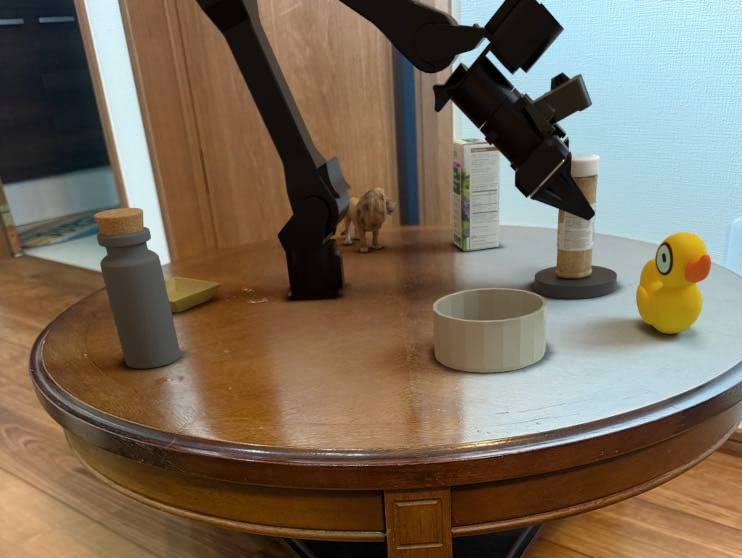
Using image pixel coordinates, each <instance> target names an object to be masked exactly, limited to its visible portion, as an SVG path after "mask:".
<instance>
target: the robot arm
mask: <svg viewBox="0 0 742 558" xmlns="http://www.w3.org/2000/svg"><path fill="white" fill-rule="evenodd" d="M338 1H339V2H340V3H341V4H343V5H345V6H346V7H348V8H349V9H351V10H352V11H354V12H355V13H356V14H357V15H359V16H361V17H362V18H364V19H365V20H367V21H368V22H370V23H371V24H372V25H373V26H375V27H376V28H377V29H378V30H379V32H381V33H382V34H383V36H384V37H385V38H386V39H387V40H388V41H389V42H390V44H391V45H392V46H393V47H394V48H395V49H396V51H398V52H399V53H400V54H401V55H402V56H403V57H404V58H405V59H406V60H407V61H408V62H409V63H410V64H411V65H413V67H415V68H416V69H417V70H418V71H420V72H421V73H422V72H423V73H425V74H430V75H432V74H437V73H440V72H443V71H445V70H447V69H448V68H450V67H451V66H452V65H454V64H455V62H456V61H457V59H458V58H459V56H460V55H462V54H465V53H468V52H471V51H474V50H477V49H478V48H479V47H480V46H481V45H482V44H483V42H484V41H485V40H487V41H488V42H489V43H488V44H486V46H485V48H484V49H483V50H482V51H481V52H480V53H479V55H478V56H477V58H476V59H475V60H474V61H473V62H472V64H471V65H470V66H467V65H466V64H464V63H463V62H460V63H458V65H457V67H456V68H455V69H454V71H453V72H452V73H451V74H450V75H449V76H448V78H447V79H446V80H445V82H444V83H435V84H433V85H432V91H433V95H434V109H433V110H434V111H435V113H440V112H441V111H442V110H444V108H445V107H446V106H447V105H448V103H449V102H450V101H451V102H452V103H453V104H454V105H455V106H456V107H457V108H458V109H459V110H460V111H461V112H462V114H464V115H465V117H466V118H467V119H468V121H470V122H471V123H472V124H473V125H474V126H475V127H476V128H477V130H479V132H480V133H481V134H482V135H483V136H484V138H485V140H486V141H487V142H488V144H489V145H490V146H491V145H492V144H493V145H494V146H495V147H496V148H497V149H498V150H499V151H500V154H501V155H503V157H504V158H505V159H506V160H507V161H508V162H509V163H510V164H509V167H510V168H511V169H512V170H513V171H514V187H515V188H516V189H517V190H518V191H519V192H520V193H521V194H522V195H523V196H524V198H526V199H528V198H529V199H531V200H532V201H536V202H538V203H541V204H545V205H546V206H550V207H551V208H555V209H557V210H559V209H560V210H563V211H565V212H567V213H570V214H572V215H575V216H577V217H580V218H582V219H585V220H587V221H589V220H590V219H591V218H592V217H593V216H594V215H595V216H596V214H595V211H594V210H593V208H592V206H591V205H590V203H589V202H588V200H587V198H586V197H585V195H584V194H583V192H582V190H581V189H580V187H579V186H578V184H577V182H576V181H575V179H574V178H573V176H572V174H571V163H572V155H573V154H572V151H570V139H569V136H567V132H566V130H564V128H563V127H562V126H561V125H560V124H559V122H560V121H562V120H564V119H567V117H570V116H572V115H573V114H575V113H577V112H582V111H584V110H587V109H588V108H589V107H591V106H592V105H593V102H592V98H591V96H590V94H589V91H588V89H587V88H588V87H587V86H586V83H585V81H584V80H585V79H584V78H583V75H582V74H581V73H579V74H575V75H574V76H573V77H571V78H570V77H569V76H568V75H567V74H566V73H564V72H563V71H562V72H560V73H558V74H557V75H555V76H553V77H551V78H550V88H549V89H550V90H548V91H545V92H544V93H543V94H541V95H540V96H538V97H537V98H535V99H533V98H531V97H530V96H529V95H528V93H527V92H525V93H523V92H520V91H519V90H518V89H517V88H516V87H515V86H514V84H513V83H512V82H511V81H510V80H509V79H508V78H507V76H505V75H504V74H503V72H502V71H501V70H500V69H499V68H498V67H497V66H496V65H495V63H493V61H491V59H490V58H489V57H488V56H487V55H488V54H489V53H491V54H492V55H493V56H494V57H495V59H496V60H497V61H498V62H499V63H500V64H501V65H502V66H503V67H504V68H505V69H506V70H507V71H508V73H510V74H511V75H512V76H514V75H515V74H516V72H518V70H520V69H521V70H522V71H523V73H525V74H528V73H529V72H530V70H532V68H533V67H534V66H535V65H536V63H537V62H538V61H539V60H540V59H541V57H542V56H543V55H544V54H545V53H546V51H548V49H549V48H550V47H551V46H552V45H553V44H554V42H555V41H556V40H557V39H558V38H559V36H561V34H562V33H563V32H564V30H565V28H564V27H563V26H562V25H561V23H560V22H559V21H558V20H557V19H556V17H555V16H554V15H553V14H552V13H551V12H550V11H549V9H548V8H547V6H545V4H544V3H542V2H539V1H538V0H503V2H502V4H501V5H500V6H499V7H498V8H497V10H496V11H495V12H494V13H493V15H492V16H491V17H490V19H489V20H488V21H487V22H486V23H485V25H484V26H480V25H479V23H477V22H476V23H473V24H472V25H465V24H459V23H458V21H457V20H456V18H454V16H453V15H451V14H449V13H448V12H446V11H443V10H441V9H438V8H436V7H434V6H432V5H429V4H428V3H425V2H422V1H420V0H338ZM195 2H196V3H197V5H198V7H199V8H200V9H201V11H202V12H203V13H204V14H205V16H206V17H207V18H208V19H209V20H210V22H211V23H212V24H213V25H214V26H215V27H216V29H217V30H218V31H219V32H220V33H221V35H222V36H223V38H224V39H225V42H226V44H227V46H228V48H229V50H230V52H231V55H232V57H233V59H234V61H235V64H236V66H237V67H238V70H239V71H240V74H241V76H242V78H243V80H244V83H245V85H246V87H247V89H248V91H249V93H250V96H251V98H252V100H253V103H254V104H255V107H256V109H257V112H258V113H259V116H260V117H261V120H262V122H263V124H264V126H265V128H266V130H267V133H268V135H269V137H270V139H271V141H272V143H273V146H274V148H275V150H276V152H277V155H278V157H279V158H280V161H281V163H282V164H281V165H282V168H283V175H284V182H285V183H284V184H285V189H286V194H287V198H288V201H289V205H290V209H291V212H292V215H291V216H290V218H289V219H288V221H286V223H285V224H284V226H283V227H282V228H281V229H280V230H279V231H278V233H277V239H278V240H279V243H280V244H281V245H280V246H281V247H282V249H283V251H284V253H285V260H286V267H287V274H288V275H287V276H288V282H289V289H290V290H289V293H288V294H287V296H288V299H289V300H296V299H297V300H299V299H300V300H301V299H318V298H320V299H321V298H337V297H339V296H340V293H341V291H342V289H343V288H344V286H345V283H346V280H345V271H344V270H345V269H344V261H343V259H344V258H343V252H342V251H341V250H338V244H337V239H336V238H332V237H334V236H335V235H336V233H337V228H338V225H339V224H340V223H341V222H342V221H344V217H345V216H346V215H347V212H348V209H349V206H350V195H349V192H348V191H349V190H351V189H352V186H351V185H350V183H348V182H347V180H346V178H345V177H344V175H343V171H342V168H341V164H340V161H339V158H338V156H336V155H334V156H333V157H331V158H330V159H328V160H327V159H326V158H325V157H324V156H323V155H322V153H321V152H320V151H319V150H318V148H317V147H316V145H315V144H314V141H313V139H312V137H311V135H310V132H309V129H308V127H307V125H306V123H305V121H304V118H303V117H302V114H301V111H300V110H299V106H298V104H297V102H296V100H295V98H294V96H293V93H292V91H291V89H290V87H289V85H288V82H287V80H286V77H285V76H284V73H283V70H282V68H281V66H280V64H279V62H278V59H277V57H276V55H275V52H274V50H273V48H272V45H271V43H270V40H269V38H268V36H267V34H266V32H265V30H264V27H263V25H262V22H261V18H260V13H259V4H258V0H195ZM562 139H563V140H562Z"/></svg>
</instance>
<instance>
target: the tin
mask: <svg viewBox="0 0 742 558" xmlns="http://www.w3.org/2000/svg"><path fill="white" fill-rule="evenodd" d="M432 319H433V321H432V322H433V343H434V344H433V345H434V358H435V360H436V361H437V362H438V363H439V364H441V365H443V366H445V367H447V368H450V369H454V370H456V371H462V372H470V373H482V374H483V373H485V374H486V373H488V374H489V373H501V372H510V371H516V370H519V369H523V368H527V367H530V366H532V365H534V364H536V363H538V362H539V361H541V360H542V359H543V357H544V356H545V353H546V350H547V349H546V348H547V320H548V302H547V300H546V298H545V297H544V296H542V295H541V294H539V293H537V292H536V293H535V292H532V291H529V290H524V289H518V288H517V289H516V288H509V287H508V288H507V287H486V288H473V289H467V290H461V291H457V292H453V293H449V294H446V295H444V296H442V297H440V298H438V299H437V300H436V301H435V302H434V303H432Z"/></svg>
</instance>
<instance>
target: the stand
mask: <svg viewBox="0 0 742 558" xmlns="http://www.w3.org/2000/svg"><path fill="white" fill-rule="evenodd" d="M556 268H557V265H555V266H551V267H547V268H543V269H541V270H539V271H537V272H536V273H535V274H534V278H533V279H534V283H533V284H534V285H533V288H534V291H535V292H536V293H537V294H539V295H541V296H542V295H543V296H546V297H549V298H555V299H564V300H565V299H567V300H568V299H569V300H574V299H575V300H579V299H580V300H581V299H593V298H598V297H603V296H606V295H609V294H611V293H613V292H614V291H615V290H616V288H617V281H618V274H617V272H616V271H615V270H613V269H611V268H608V267H605V266H600V265H593V264H591V268H592V274H591V275H590V276H587V277H584V278H577V279H575V278H562V277H559V276H557V275H556V273H555V270H556Z"/></svg>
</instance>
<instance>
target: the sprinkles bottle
mask: <svg viewBox="0 0 742 558" xmlns="http://www.w3.org/2000/svg"><path fill="white" fill-rule="evenodd" d="M600 165H601V157H600V156H599V155H598V154H594V153H593V154H592V153H575V154H572V163H571V174H572V176H573V178H574V179H575V181H576V182H577V184H578V186H579V187H580V189H581V190H582V192H583V194H584V195H585V197H586V198H587V200H588V202H589V203H590V205H591V206H592V208H593V210H594V211H595V215H594V216H593V217H592V218H591V219H590V220H589V221H587V220H585V219H582V218H580V217H577V216H575V215H572V214H570V213H567V212H565V211H563V210H560V209H558V214H557V231H556V232H557V235H556V249H557V250H556V252H557V253H556V266H557V268H556V270H555V273H556V275H557V276H559V277H562V278H575V279H577V278H584V277H587V276H590V275H591V274H592V268H591V265H592V263H593V261H592V260H593V248H594V244H595V243H594V242H595V230H596V229H595V227H596V211H597V189H598V187H597V186H598V178H599V175H598V174H599V173H600V167H601V166H600Z"/></svg>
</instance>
